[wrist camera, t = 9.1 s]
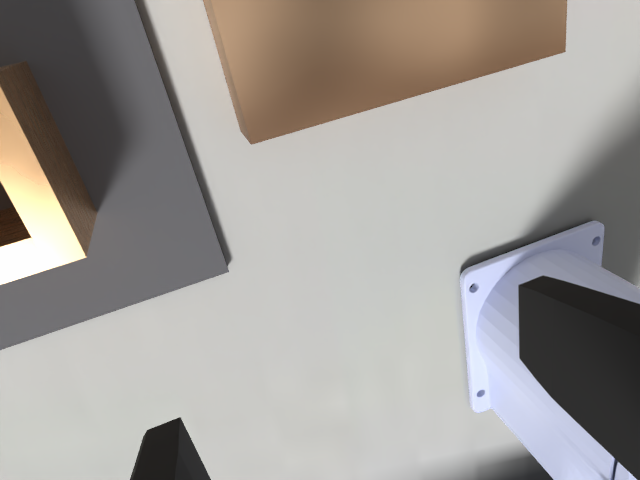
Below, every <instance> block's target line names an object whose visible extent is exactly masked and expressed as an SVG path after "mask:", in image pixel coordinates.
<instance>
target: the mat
mask: <svg viewBox="0 0 640 480" xmlns="http://www.w3.org/2000/svg"><path fill="white" fill-rule="evenodd" d="M24 61H27V63H28V65H29V68H30V70H31V72H32V74H33V76H34V78H35V80H36V83H37V85H38V87H39V89H40V91H41V93H42V95H43V98H44V100H45V102H46V104H47V106H48V108H49V110H50V112H51V115H52V117H53V119H54V121H55V123H56V125H57V127H58V130H59V132H60V134H61V136H62V138H63V140H64V142H65V145H66V147H67V149H68V151H69V153H70V155H71V157H72V160H73V162H74V164H75V166H76V168H77V170H78V172H79V175H80V177H81V179H82V181H83V183H84V185H85V187H86V190H87V192H88V194H89V196H90V198H91V200H92V202H93V205H94V207H95V209H96V211H97V217H96V221H95V225H94V229H93V233H92V237H91V241H90V245H89V249H88V253H87V257H86V258H83V259H80V260H76V261H73V262H70V263H67V264H64V265H61V266H57V267H54V268H51V269H48V270H45V271H42V272H39V273H35V274H32V275H29V276H26V277H23V278H20V279H16V280H13V281H10V282H7V283H4V284H1V285H0V350H2V349H5V348H8V347H11V346H13V345H16V344H19V343H22V342H25V341H28V340H31V339H34V338H37V337H40V336H43V335H46V334H49V333H51V332H54V331H57V330H60V329H63V328H66V327H69V326H72V325H75V324H78V323H81V322H84V321H87V320H89V319H92V318H95V317H98V316H101V315H104V314H107V313H110V312H113V311H116V310H119V309H122V308H125V307H127V306H130V305H133V304H136V303H139V302H142V301H145V300H148V299H151V298H154V297H157V296H160V295H163V294H165V293H168V292H171V291H174V290H177V289H180V288H183V287H186V286H189V285H192V284H195V283H198V282H201V281H203V280H206V279H209V278H212V277H215V276H218V275H221V274H224V273H227V272H229V270H228V267H227V264H226V261H225V259H224V256H223V253H222V250H221V247H220V244H219V241H218V239H217V236H216V233H215V230H214V227H213V224H212V221H211V218H210V216H209V213H208V210H207V207H206V204H205V201H204V198H203V195H202V193H201V190H200V187H199V184H198V181H197V178H196V175H195V173H194V170H193V167H192V164H191V161H190V158H189V155H188V152H187V150H186V147H185V144H184V141H183V138H182V135H181V132H180V129H179V127H178V124H177V121H176V118H175V115H174V112H173V109H172V107H171V104H170V101H169V98H168V95H167V92H166V89H165V86H164V84H163V81H162V78H161V75H160V72H159V69H158V66H157V63H156V61H155V58H154V55H153V52H152V49H151V46H150V43H149V41H148V38H147V35H146V32H145V29H144V26H143V23H142V20H141V18H140V15H139V12H138V9H137V6H136V3H135V0H0V67H3V66H7V65H12V64H16V63H20V62H24ZM11 207H15V206H14V205H13V203H12V201H11V199H10V197H9V196H8V194H7V192H6V190H5V188H4V187H3V185H2V183H1V181H0V211H1V210H4V209H8V208H11Z"/></svg>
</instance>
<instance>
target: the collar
mask: <svg viewBox="0 0 640 480" xmlns="http://www.w3.org/2000/svg"><path fill="white" fill-rule="evenodd" d="M0 181H1V183H2V185H3V187H4V188H5V190H6V192H7V194H8V196H9V197H10V199H11V201H12V203H13V205H14V206H15V207H11V208H8V209H4V210H1V211H0V285H1V284H4V283H7V282H10V281H13V280H16V279H20V278H23V277H26V276H29V275H32V274H35V273H39V272H42V271H45V270H48V269H51V268H54V267H57V266H61V265H64V264H67V263H70V262H73V261H76V260H80V259H83V258H86V257H87V253H88V249H89V245H90V241H91V237H92V233H93V229H94V225H95V221H96V217H97V211H96V209H95V207H94V205H93V202H92V200H91V198H90V196H89V194H88V192H87V190H86V187H85V185H84V183H83V181H82V179H81V177H80V175H79V172H78V170H77V168H76V166H75V164H74V162H73V160H72V157H71V155H70V153H69V151H68V149H67V147H66V145H65V142H64V140H63V138H62V136H61V134H60V132H59V130H58V127H57V125H56V123H55V121H54V119H53V117H52V115H51V112H50V110H49V108H48V106H47V104H46V102H45V100H44V98H43V95H42V93H41V91H40V89H39V87H38V85H37V83H36V80H35V78H34V76H33V74H32V72H31V70H30V68H29V65H28V63H27V61H24V62H20V63H16V64H12V65H7V66H3V67H0Z"/></svg>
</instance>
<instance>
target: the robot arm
mask: <svg viewBox="0 0 640 480" xmlns="http://www.w3.org/2000/svg"><path fill="white" fill-rule="evenodd" d="M604 230H605V228H604V225H603V223H600V222H598V221H596V220H594V221H590V222H588V223H585V224H582V225H580V226H577V227H574V228H572V229H569V230H566V231H564V232H561V233H558V234H556V235H553V236H550V237H548V238H545V239H542V240H540V241H537V242H534V243H532V244H529V245H526V246H524V247H521V248H518V249H516V250H513V251H510V252H508V253H505V254H502V255H500V256H497V257H495V258H492V259H489V260H487V261H484V262H481V263H479V264H476V265H473V266H471V267H468V268H466V269H465V270H464V271H463V272H462V274H461V276H460V285H461V297H462V310H463V322H464V334H465V347H466V359H467V371H468V384H469V396H470V406H471V408H472V409H473V411H474V412H476V413H481V412H483V411H486V410H488V409H490V408H492V409H493V410H494V412H495V413H496V414H497V415H498V416H499V417H500V418H501V420H502V421H503V422H504V423H505V424H506V425H507V427H508V428H509V429H510V430H511V431H512V432H513V433H514V435H515V436H516V437H517V438H518V439H519V440H520V441H521V443H522V444H523V445H524V446H525V447H526V448H527V449H528V451H529V452H530V453H531V454H532V455H533V456H534V457H535V459H536V460H537V461H538V462H539V463H540V464H541V465H542V467H543V468H544V469H545V470H546V471H547V472H548V473H549V475H550V476H551V477H552V478H553V479H554V480H640V288H639V287H637V286H635V285H633V284H632V283H630V282H628V281H626V280H624V279H623V278H621V277H619V276H617V275H615V274H614V273H612V272H610V271H608V270H606V269H605V268H603V267H601V266H602V254H603V242H604ZM472 284H474V285H473V286H472V287H471V288H470V286H471V285H472ZM469 288H470V289H469ZM130 480H211V479H210V477H209V475H208V473H207V471H206V469H205V467H204V465H203V463H202V461H201V459H200V457H199V455H198V452H197V450H196V448H195V446H194V444H193V442H192V440H191V438H190V436H189V434H188V432H187V430H186V428H185V426H184V424H183V422H182V420H181V418H177V419H175V420H172V421H169V422H167V423H164V424H162V425H159V426H157V427H154V428H152V429H149V430H147V432H146V433H145V435H144V437H143V440H142V443H141V446H140V450H139V453H138V456H137V459H136V463H135V466H134V469H133V472H132V475H131V478H130Z"/></svg>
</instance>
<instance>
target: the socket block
mask: <svg viewBox="0 0 640 480" xmlns="http://www.w3.org/2000/svg"><path fill="white" fill-rule="evenodd" d="M203 2H204V5H205V9H206V12H207V16H208V19H209V22H210V26H211V29H212V33H213V36H214V40H215V43H216V47H217V50H218V54H219V57H220V61H221V64H222V68H223V71H224V75H225V78H226V82H227V85H228V88H229V92H230V95H231V99H232V102H233V106H234V109H235V113H236V116H237V120H238V123H239V127H240V130H241V132H242V134H243V135H244V136H245V137H246V139H247V140H248V141H249V142H250V144H255V143H258V142H262V141H265V140H268V139H272V138H275V137H279V136H282V135H285V134H289V133H292V132H295V131H299V130H302V129H306V128H309V127H312V126H316V125H319V124H323V123H326V122H329V121H333V120H336V119H340V118H343V117H346V116H350V115H353V114H356V113H360V112H363V111H367V110H370V109H373V108H377V107H380V106H384V105H387V104H390V103H394V102H397V101H401V100H404V99H407V98H411V97H414V96H417V95H421V94H424V93H428V92H431V91H434V90H438V89H441V88H445V87H448V86H451V85H455V84H458V83H462V82H465V81H468V80H472V79H475V78H478V77H482V76H485V75H489V74H492V73H495V72H499V71H502V70H506V69H509V68H512V67H516V66H519V65H523V64H526V63H529V62H533V61H536V60H539V59H543V58H546V57H550V56H553V55H556V54H560V53H563V52H565V48H566V18H567V0H203Z"/></svg>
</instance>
